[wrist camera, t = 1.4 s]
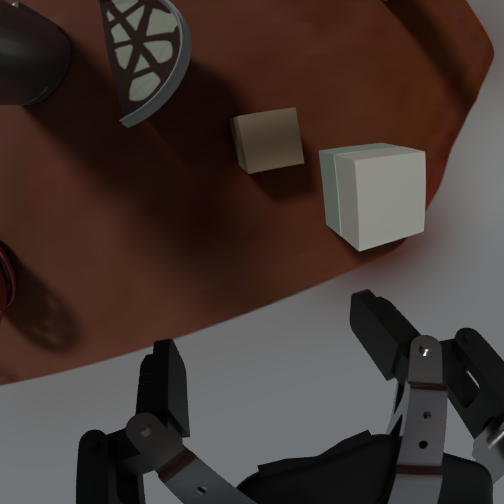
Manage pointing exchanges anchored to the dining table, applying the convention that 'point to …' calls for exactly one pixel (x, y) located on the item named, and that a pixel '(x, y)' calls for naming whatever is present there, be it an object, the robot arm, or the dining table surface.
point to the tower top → (381, 195)
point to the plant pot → (6, 283)
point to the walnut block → (267, 140)
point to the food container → (145, 53)
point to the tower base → (331, 180)
